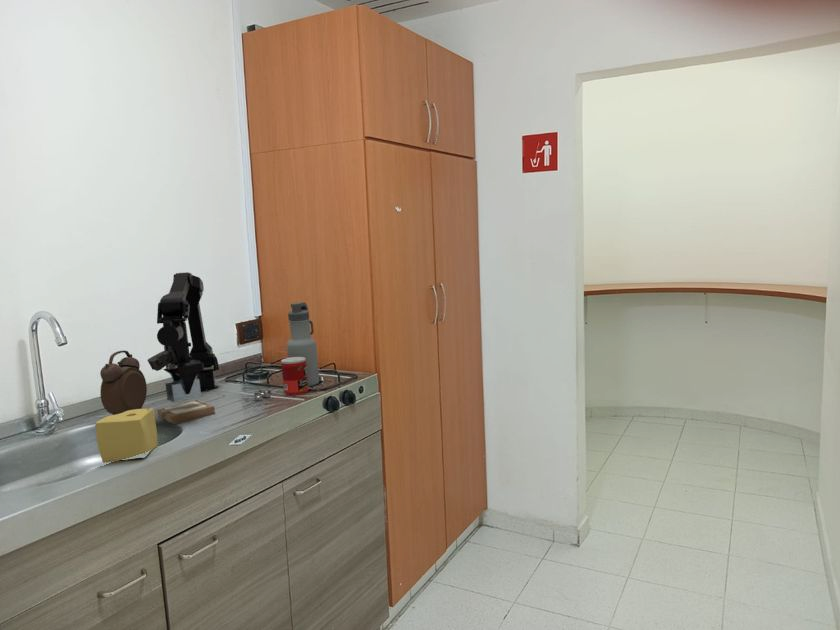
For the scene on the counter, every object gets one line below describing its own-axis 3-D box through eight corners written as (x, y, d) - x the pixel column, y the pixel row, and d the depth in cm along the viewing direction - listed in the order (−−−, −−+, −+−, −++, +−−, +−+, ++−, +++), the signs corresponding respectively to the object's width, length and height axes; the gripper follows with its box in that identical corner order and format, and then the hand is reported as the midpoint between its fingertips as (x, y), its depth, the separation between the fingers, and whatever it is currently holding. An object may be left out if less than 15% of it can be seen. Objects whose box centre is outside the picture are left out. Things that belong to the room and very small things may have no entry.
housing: (194, 393, 186) (192, 377, 185) (201, 395, 182) (199, 379, 181) (167, 399, 180) (165, 382, 179) (174, 402, 177) (172, 385, 176)
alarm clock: (130, 410, 192) (121, 347, 189) (151, 409, 191) (143, 346, 188) (99, 424, 178) (89, 357, 175) (122, 424, 177) (113, 356, 174)
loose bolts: (244, 400, 195) (244, 393, 194) (261, 393, 202) (261, 387, 201) (259, 401, 192) (259, 394, 192) (276, 394, 199) (275, 387, 199)
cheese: (117, 449, 155) (111, 410, 154) (161, 445, 156) (156, 406, 154) (99, 464, 145) (93, 423, 143) (146, 459, 145) (141, 418, 144)
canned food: (303, 395, 196) (300, 361, 194) (280, 395, 197) (276, 362, 196) (312, 389, 203) (309, 356, 202) (289, 389, 205) (286, 357, 203)
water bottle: (296, 381, 216) (289, 301, 213) (323, 380, 215) (316, 300, 211) (286, 388, 207) (278, 305, 203) (314, 387, 205) (306, 304, 201)
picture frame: (158, 417, 182) (157, 408, 182) (197, 407, 190) (196, 399, 190) (174, 424, 173) (173, 415, 173) (214, 413, 181) (213, 405, 181)
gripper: (137, 342, 180) (144, 394, 182) (161, 348, 167) (169, 404, 169) (175, 336, 188) (181, 386, 190) (201, 341, 174) (207, 394, 176)
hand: (183, 392), depth 181 cm, fingers closed on housing, 5 cm apart
